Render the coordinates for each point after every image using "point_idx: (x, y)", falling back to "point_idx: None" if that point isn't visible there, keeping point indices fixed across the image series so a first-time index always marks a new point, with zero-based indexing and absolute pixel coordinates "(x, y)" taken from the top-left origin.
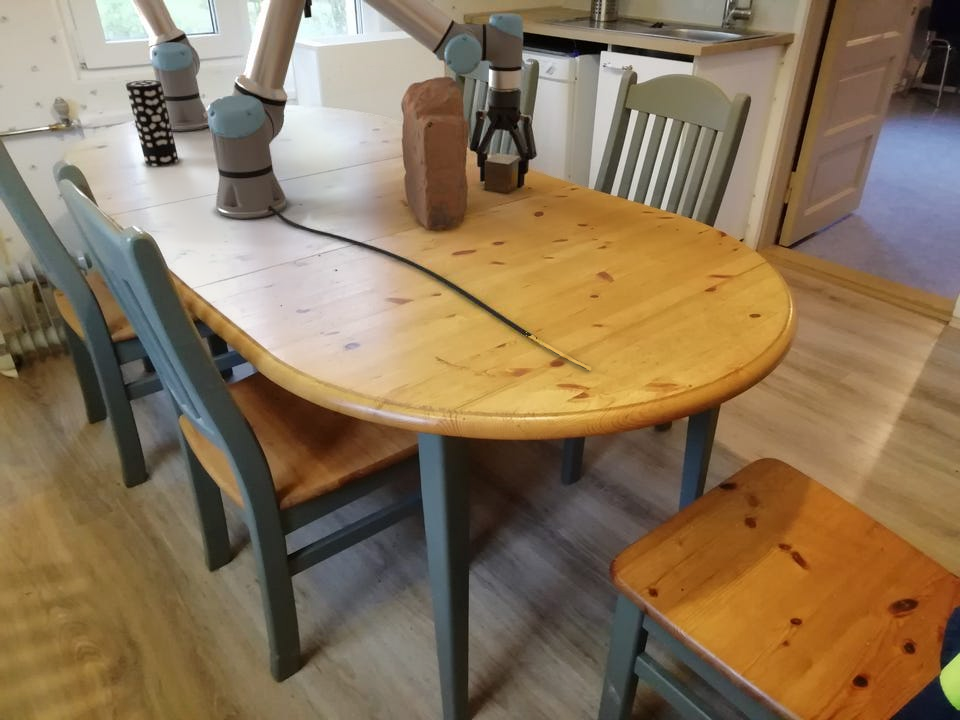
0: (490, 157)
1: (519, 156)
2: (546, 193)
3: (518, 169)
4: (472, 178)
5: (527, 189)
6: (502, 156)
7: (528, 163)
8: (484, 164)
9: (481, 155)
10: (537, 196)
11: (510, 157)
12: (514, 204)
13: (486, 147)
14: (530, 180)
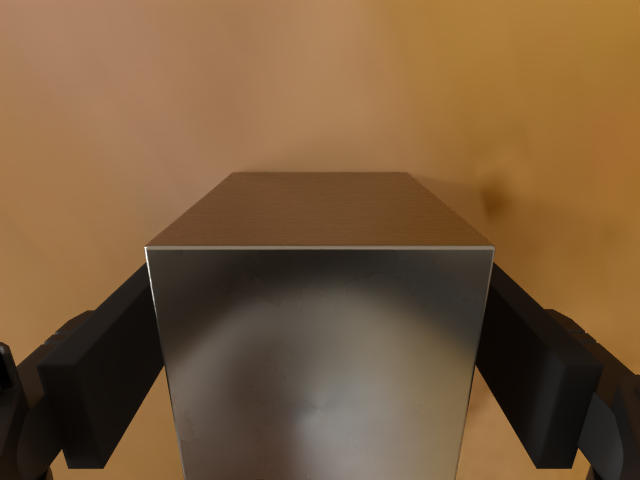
0: (182, 433)
1: (489, 261)
2: (620, 243)
3: (500, 399)
4: (53, 186)
5: (485, 227)
6: (283, 347)
7: (621, 370)
8: (144, 365)
9: (74, 460)
10: (571, 312)
11: (391, 345)
12: (474, 450)
13: (10, 444)
14: (458, 19)
